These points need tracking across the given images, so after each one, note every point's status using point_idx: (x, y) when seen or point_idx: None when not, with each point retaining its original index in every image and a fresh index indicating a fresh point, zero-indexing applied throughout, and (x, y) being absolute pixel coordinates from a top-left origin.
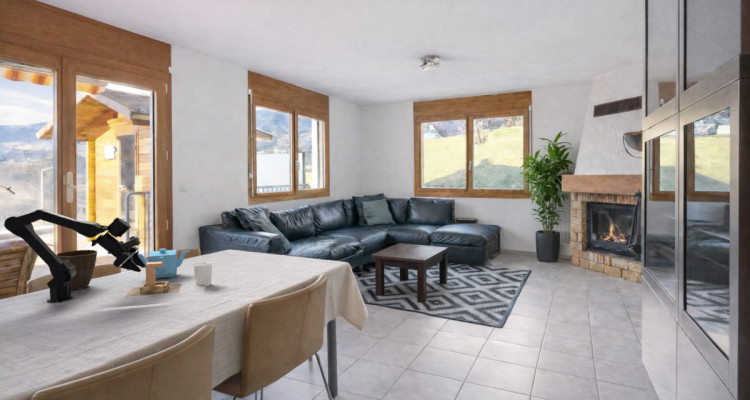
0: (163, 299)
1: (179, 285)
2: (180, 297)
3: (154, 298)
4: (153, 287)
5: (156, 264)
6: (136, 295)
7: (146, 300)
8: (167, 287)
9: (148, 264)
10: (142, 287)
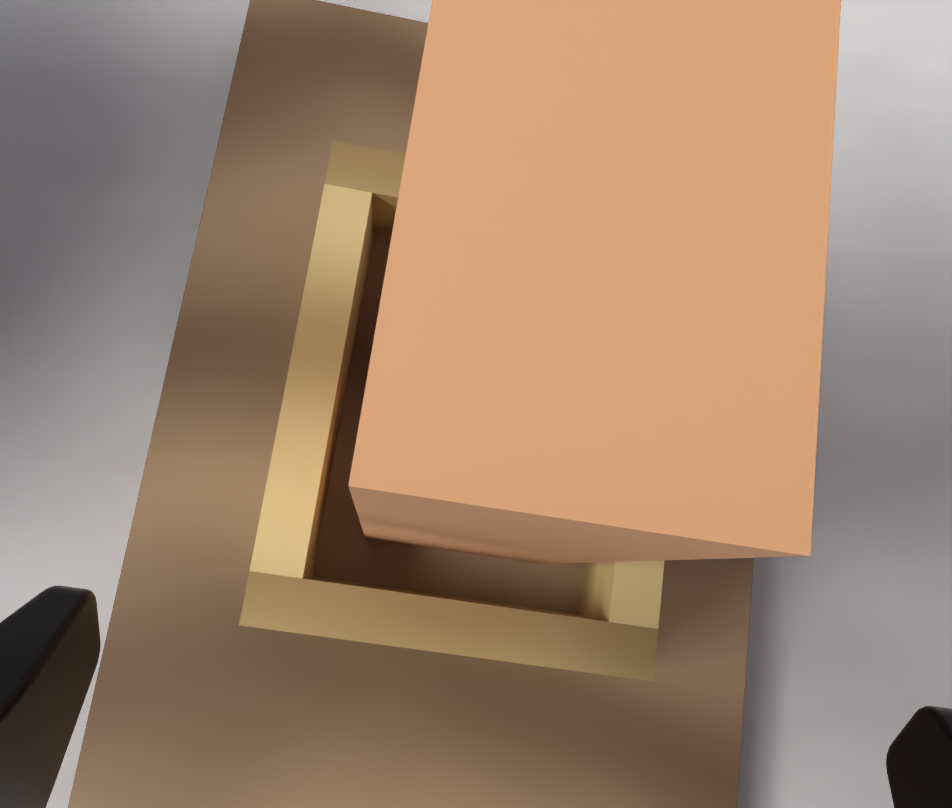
0: (949, 317)
1: (349, 34)
2: (927, 103)
3: (850, 437)
4: None
5: (815, 139)
6: (733, 720)
7: (919, 549)
8: None
9: (804, 433)
10: (655, 631)
